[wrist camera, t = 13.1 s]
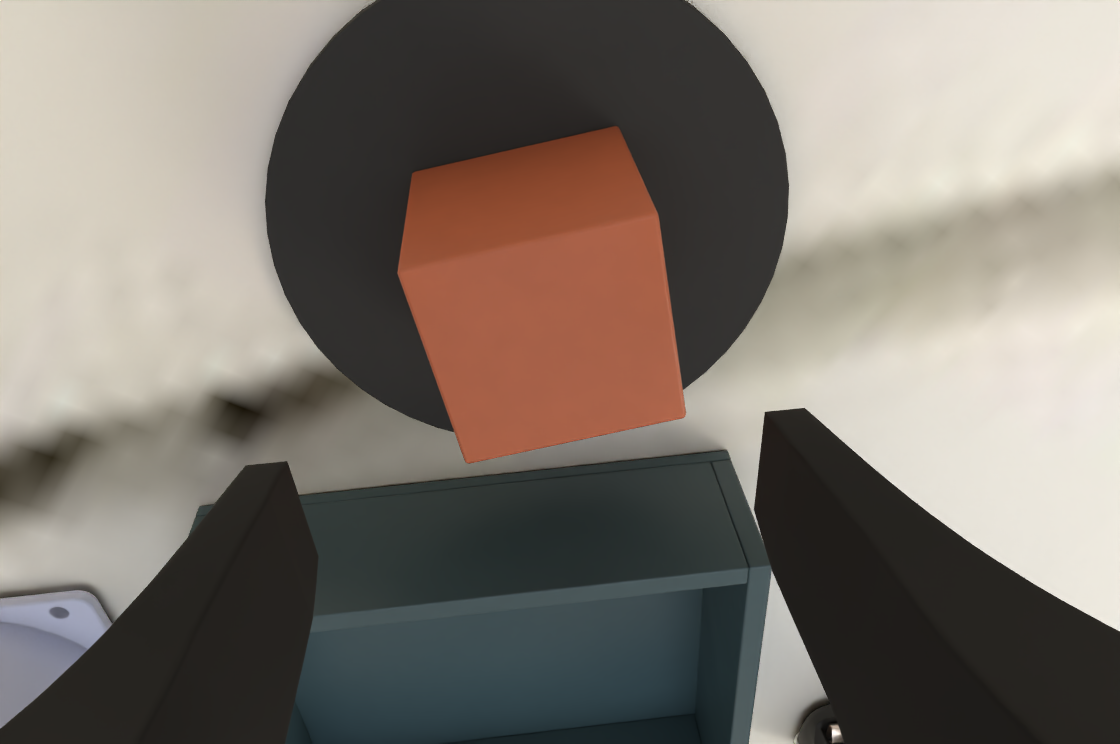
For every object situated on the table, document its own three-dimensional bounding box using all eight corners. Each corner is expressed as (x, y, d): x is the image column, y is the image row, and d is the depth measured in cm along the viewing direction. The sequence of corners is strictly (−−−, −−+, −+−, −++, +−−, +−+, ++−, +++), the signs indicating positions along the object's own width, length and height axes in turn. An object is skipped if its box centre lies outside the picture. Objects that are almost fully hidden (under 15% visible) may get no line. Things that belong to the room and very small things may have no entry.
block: (466, 343, 20) (465, 466, 17) (411, 171, 18) (395, 271, 14) (646, 304, 20) (687, 418, 17) (618, 124, 18) (658, 212, 14)
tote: (308, 757, 31) (287, 884, 27) (198, 505, 23) (149, 635, 20) (707, 710, 32) (737, 828, 28) (727, 449, 24) (773, 565, 20)
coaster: (333, 453, 23) (331, 462, 22) (196, -22, 16) (190, -19, 15) (761, 408, 23) (766, 417, 23) (812, -72, 16) (819, -69, 16)
